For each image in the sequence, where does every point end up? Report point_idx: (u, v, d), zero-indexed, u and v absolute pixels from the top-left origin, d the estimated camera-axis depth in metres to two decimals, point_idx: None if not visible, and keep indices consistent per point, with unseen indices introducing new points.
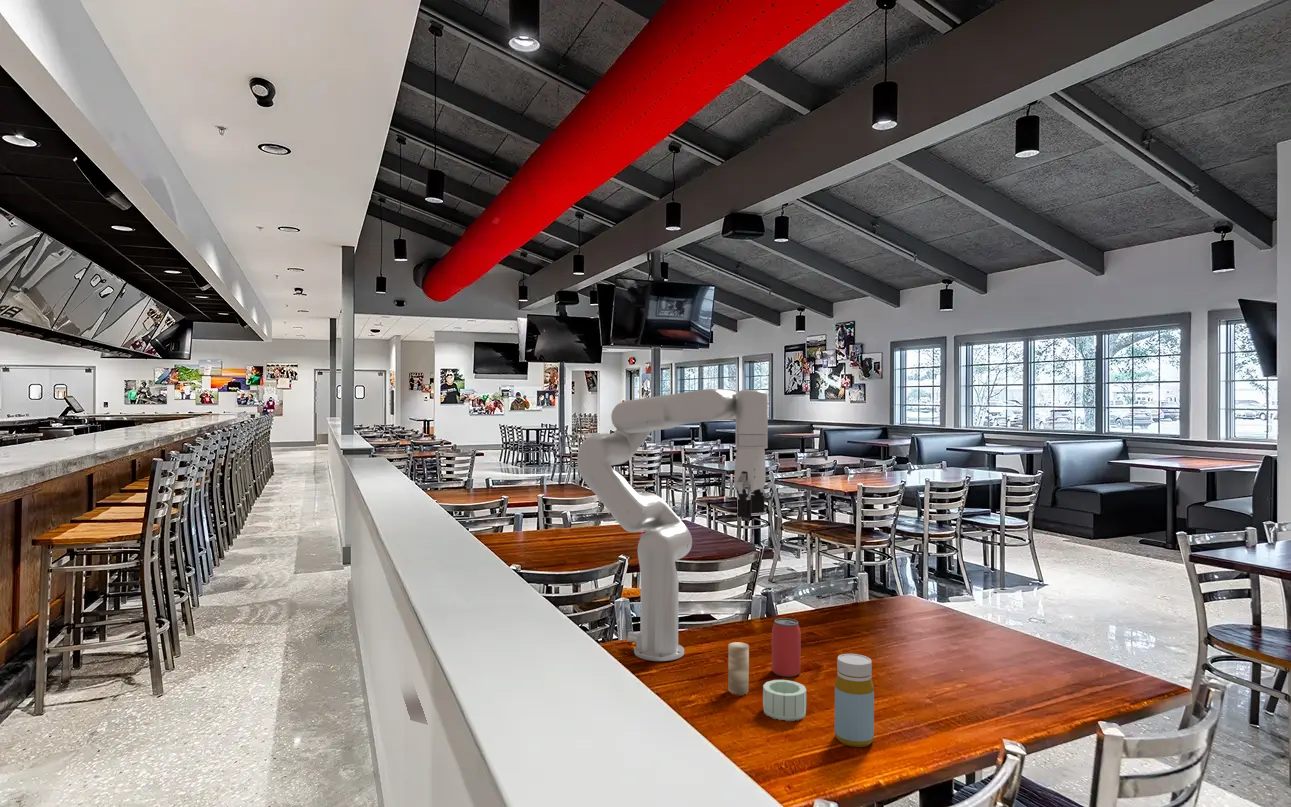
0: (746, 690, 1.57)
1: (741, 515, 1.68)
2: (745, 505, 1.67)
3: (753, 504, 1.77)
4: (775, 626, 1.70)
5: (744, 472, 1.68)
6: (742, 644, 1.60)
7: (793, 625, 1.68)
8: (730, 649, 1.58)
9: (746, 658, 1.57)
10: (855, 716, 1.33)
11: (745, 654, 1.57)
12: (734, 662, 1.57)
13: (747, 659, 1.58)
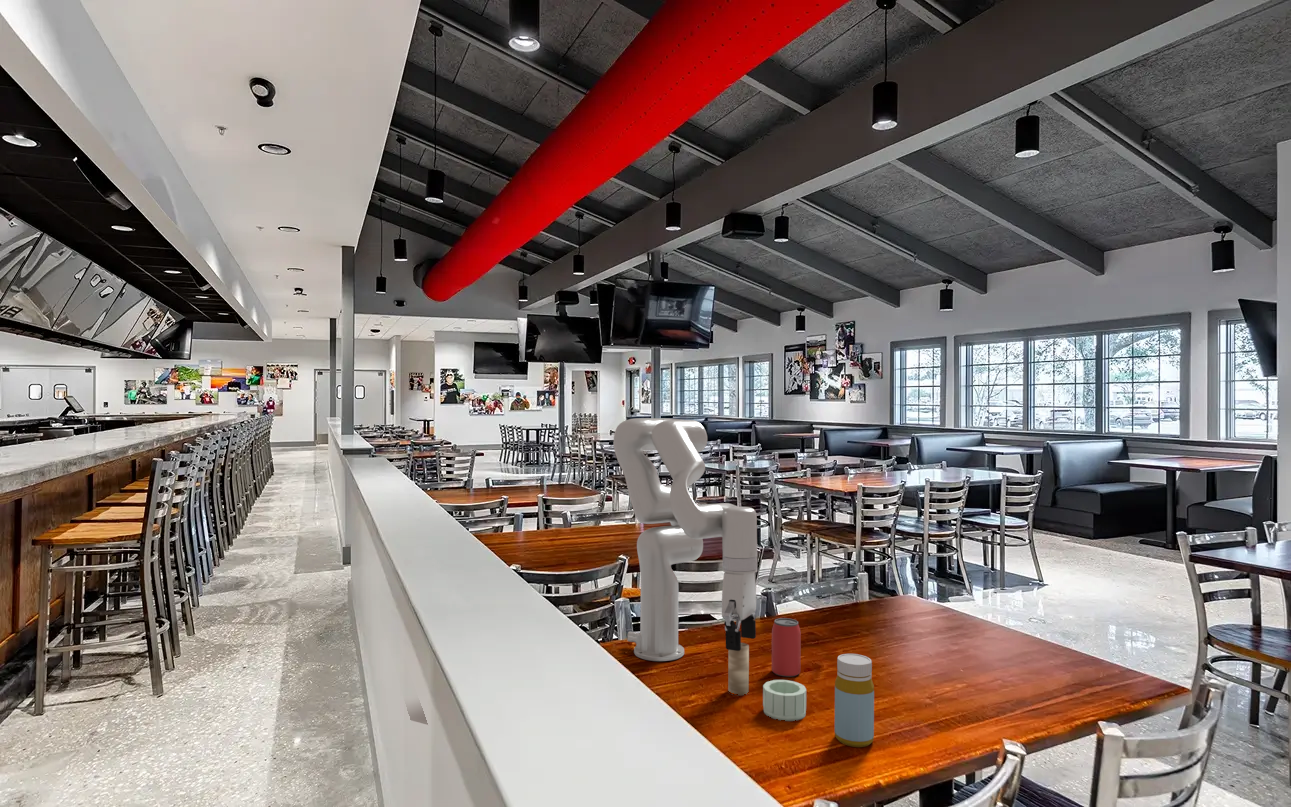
0: (746, 690, 1.57)
1: (730, 648, 1.54)
2: (734, 637, 1.53)
3: (743, 629, 1.63)
4: (775, 626, 1.70)
5: (732, 600, 1.54)
6: (742, 644, 1.60)
7: (793, 625, 1.68)
8: None
9: (746, 658, 1.57)
10: (855, 716, 1.33)
11: (745, 654, 1.57)
12: (734, 662, 1.57)
13: (747, 659, 1.58)
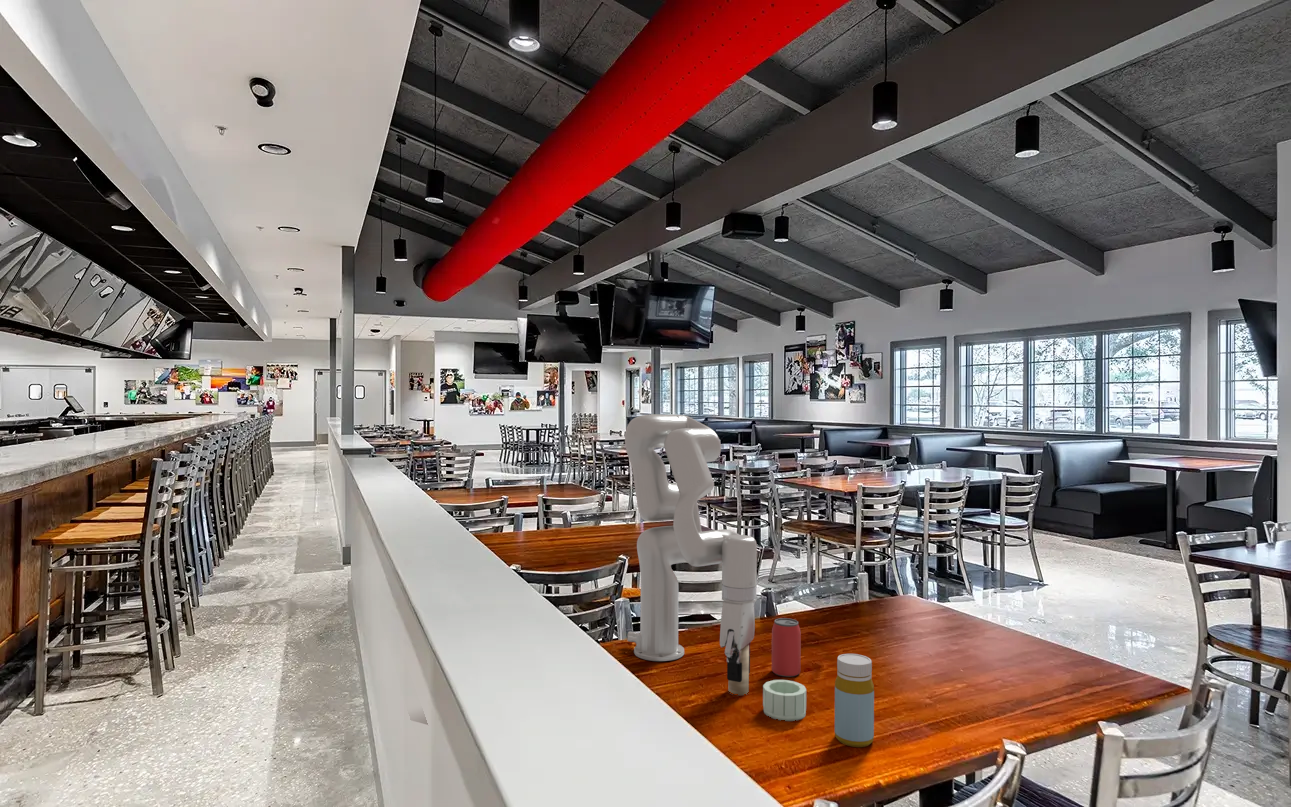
0: (746, 690, 1.57)
1: (731, 679, 1.57)
2: (735, 669, 1.55)
3: None
4: (775, 626, 1.70)
5: (731, 633, 1.55)
6: None
7: (793, 625, 1.68)
8: None
9: (746, 658, 1.57)
10: (855, 716, 1.33)
11: (746, 654, 1.57)
12: None
13: (747, 659, 1.58)
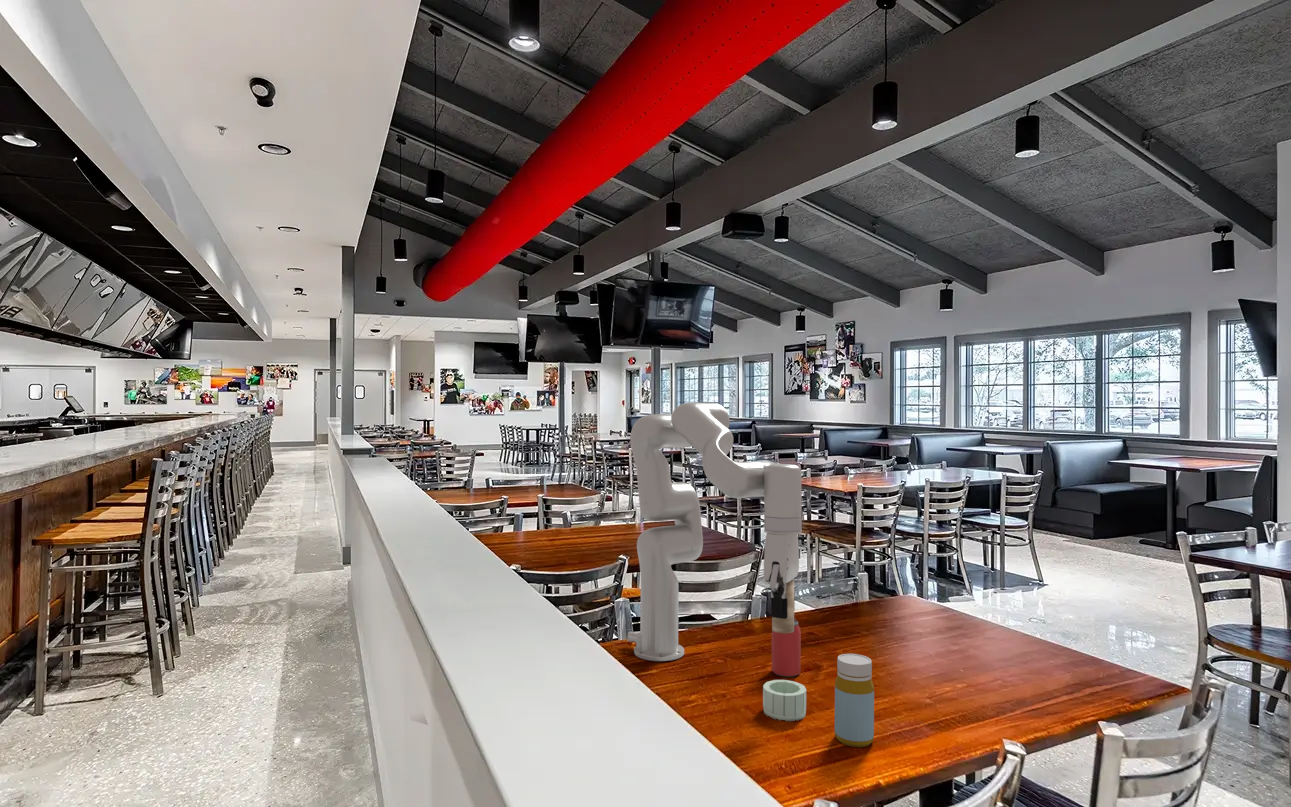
0: (792, 628, 1.47)
1: (775, 615, 1.46)
2: (780, 605, 1.45)
3: None
4: None
5: (775, 565, 1.45)
6: None
7: None
8: None
9: (792, 594, 1.47)
10: (855, 716, 1.33)
11: (791, 589, 1.47)
12: None
13: (792, 595, 1.47)
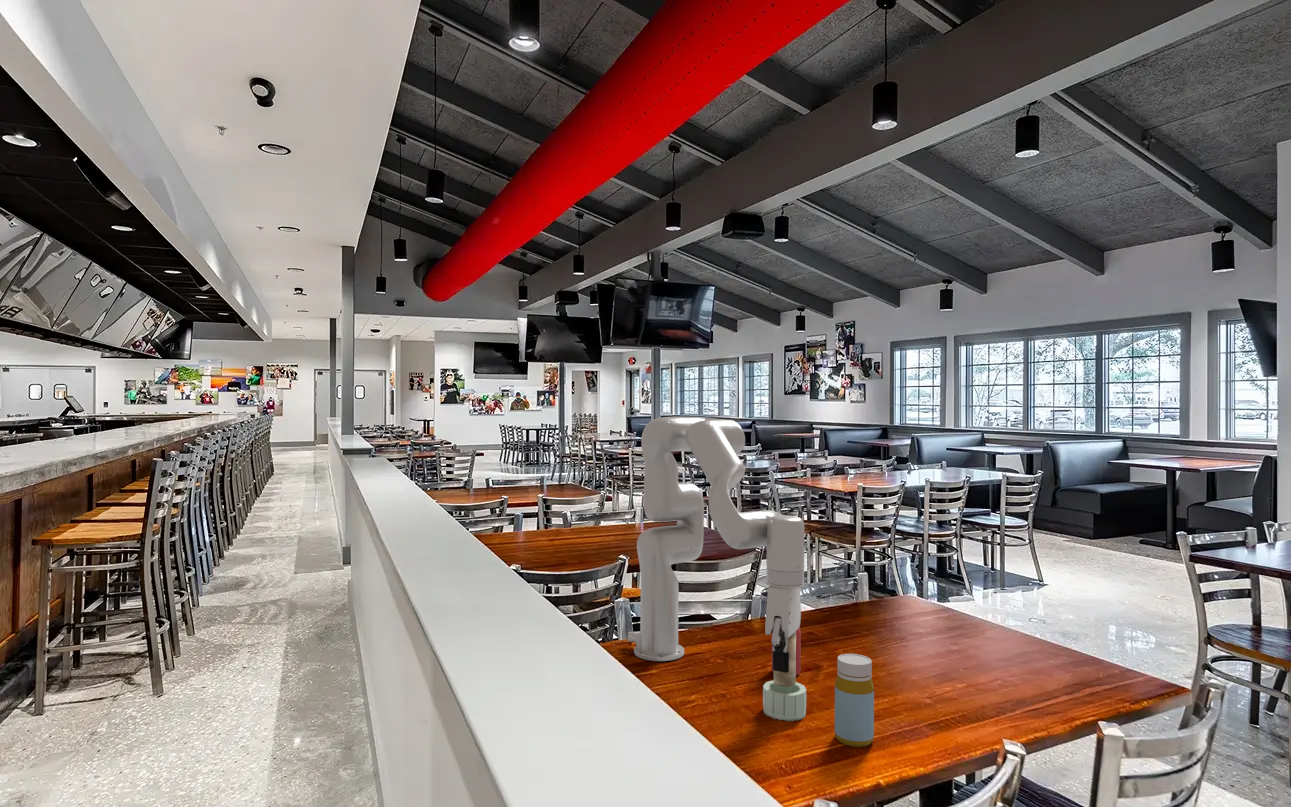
0: (793, 681, 1.47)
1: (777, 669, 1.46)
2: (782, 659, 1.45)
3: None
4: None
5: (777, 619, 1.44)
6: None
7: None
8: None
9: (794, 647, 1.47)
10: (855, 716, 1.33)
11: (793, 643, 1.46)
12: None
13: (794, 648, 1.47)
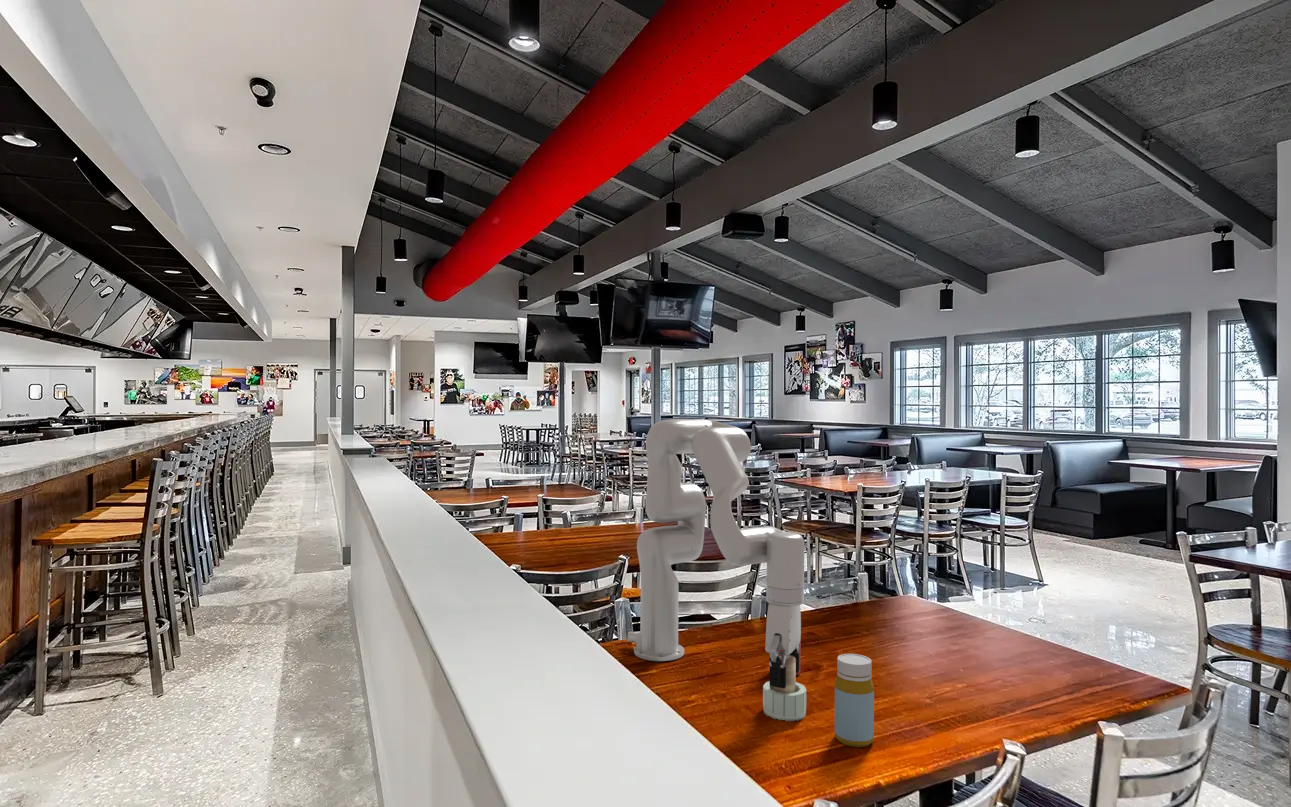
0: None
1: (774, 684, 1.44)
2: (779, 674, 1.43)
3: None
4: None
5: (777, 634, 1.44)
6: (788, 656, 1.49)
7: None
8: None
9: (793, 672, 1.47)
10: (855, 716, 1.33)
11: (792, 668, 1.46)
12: None
13: (794, 673, 1.47)
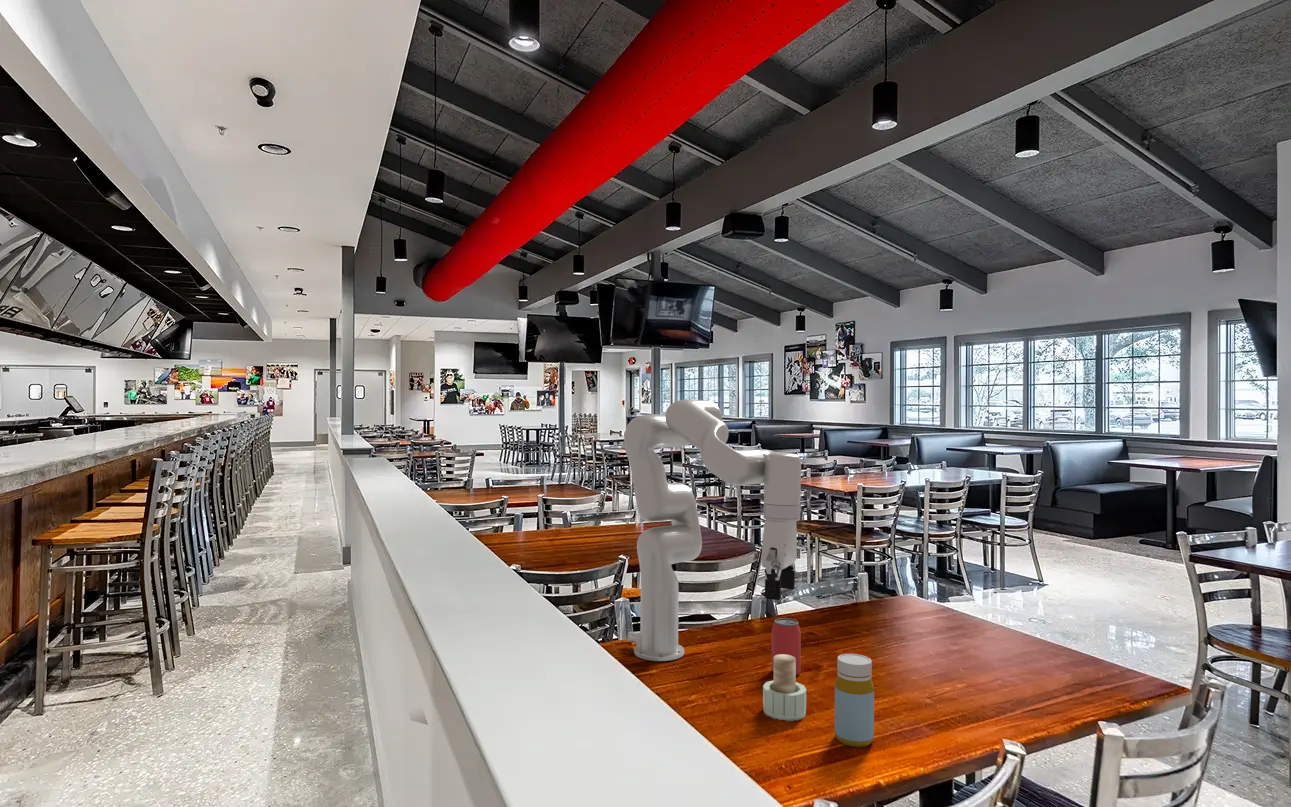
0: None
1: (769, 597, 1.48)
2: (774, 586, 1.47)
3: (782, 580, 1.57)
4: (775, 626, 1.70)
5: (773, 548, 1.48)
6: (788, 656, 1.49)
7: (793, 625, 1.68)
8: (776, 662, 1.47)
9: (793, 672, 1.47)
10: (855, 716, 1.33)
11: (792, 668, 1.46)
12: (780, 676, 1.46)
13: (794, 673, 1.47)
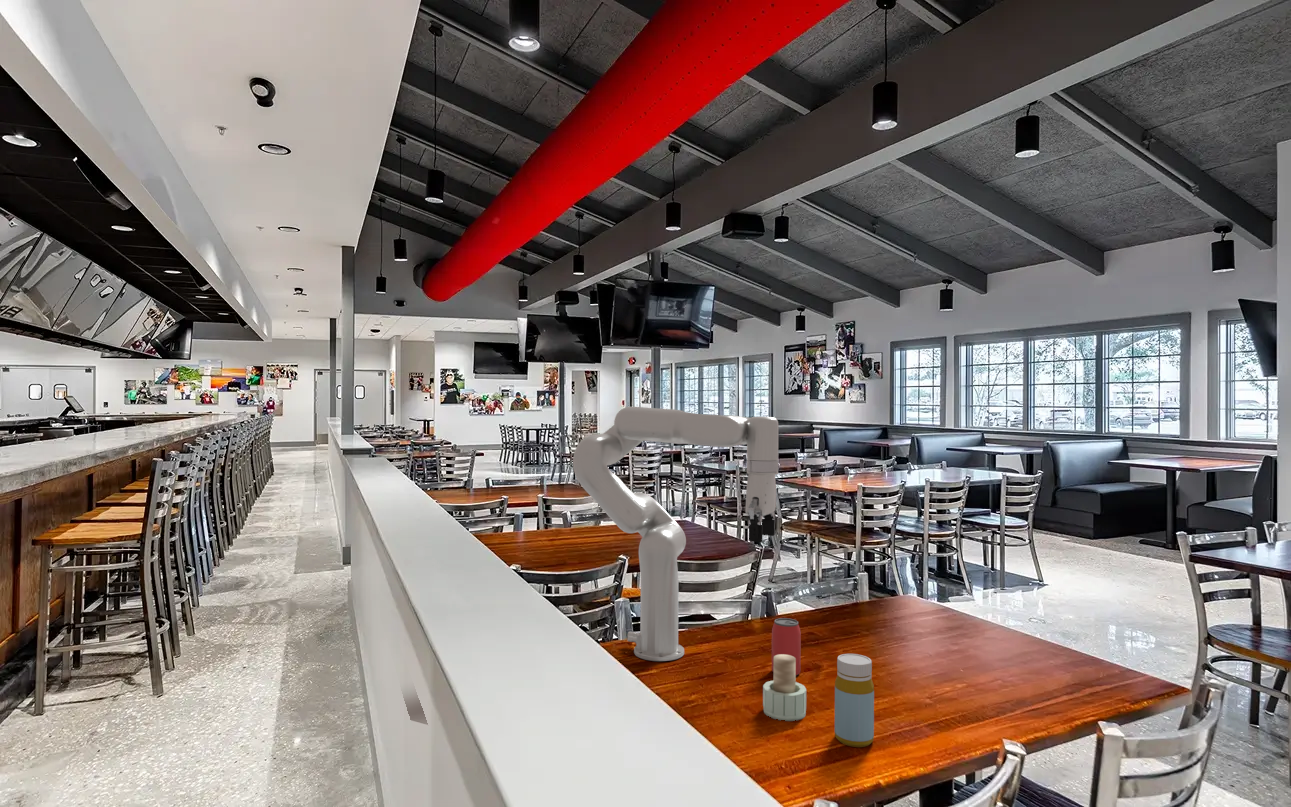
0: None
1: (752, 539, 1.72)
2: (756, 530, 1.71)
3: (764, 528, 1.81)
4: (775, 626, 1.70)
5: (755, 497, 1.72)
6: (788, 656, 1.49)
7: (793, 625, 1.68)
8: (776, 662, 1.47)
9: (793, 672, 1.47)
10: (855, 716, 1.33)
11: (792, 668, 1.46)
12: (780, 676, 1.46)
13: (794, 673, 1.47)
